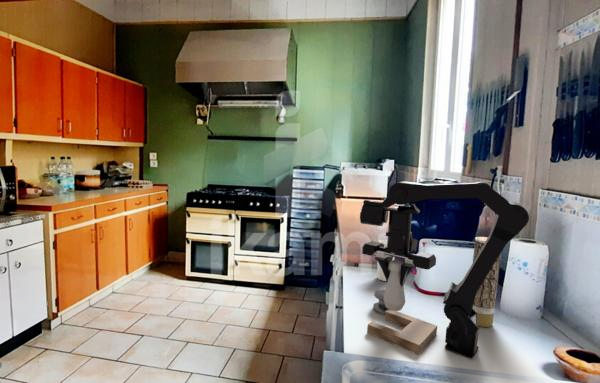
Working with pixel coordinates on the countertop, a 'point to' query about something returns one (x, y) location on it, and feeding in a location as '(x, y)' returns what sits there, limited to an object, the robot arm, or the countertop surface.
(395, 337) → the notched board
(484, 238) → the wooden log
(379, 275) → the drinking glass
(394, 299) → the salt shaker
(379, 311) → the spool
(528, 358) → the countertop surface
